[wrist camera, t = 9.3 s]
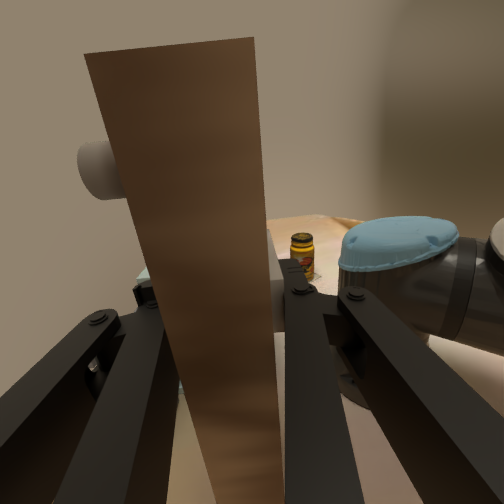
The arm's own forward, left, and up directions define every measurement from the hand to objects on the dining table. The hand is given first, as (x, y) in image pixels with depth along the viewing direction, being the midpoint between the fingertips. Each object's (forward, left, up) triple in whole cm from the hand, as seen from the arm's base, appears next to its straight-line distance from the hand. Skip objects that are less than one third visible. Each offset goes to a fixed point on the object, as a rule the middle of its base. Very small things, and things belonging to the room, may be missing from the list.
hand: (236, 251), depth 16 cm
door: (0, +3, -10) cm, 10 cm away
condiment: (-13, -42, -27) cm, 52 cm away
